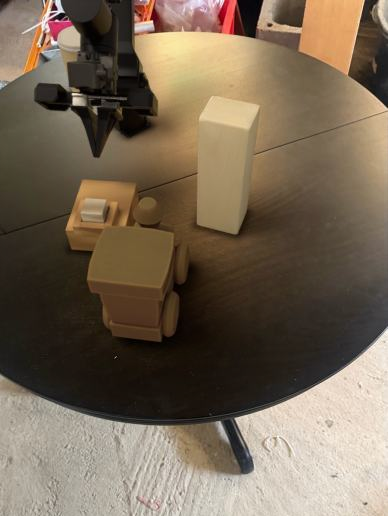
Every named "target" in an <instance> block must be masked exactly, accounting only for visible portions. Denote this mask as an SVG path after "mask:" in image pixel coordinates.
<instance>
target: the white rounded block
mask: <svg viewBox="0 0 388 516" xmlns="http://www.w3.org/2000/svg"><path fill="white" fill-rule="evenodd" d="M107 212H108V205H107V200H104V199H90V198H85V201H84V204H83V207H82V210H81V216H82V220H83V222H92V223H105V219H106V216H107Z"/></svg>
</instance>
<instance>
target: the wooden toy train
mask: <svg viewBox="0 0 388 516" xmlns="http://www.w3.org/2000/svg"><path fill="white" fill-rule="evenodd" d="M165 214H166V211H165V209H164V207H163V206H162V205H161V204H160V203H159V202H158V201H157V200H156V199H154V198H153V197H150V196H146V197H143V198H141V199H140V200H139V203H138V204H137V206H136V207H135V209H134V211H133V217H134V219H135V222H134V226H133V227H131V226H105V227H104V229H103V231H102V233H101V234H100V236H99V238H98V240H97V243H96V246H95V248H94V251H92V254H91V257H90V260H89V263H88V270H87V276H86V282H87V284H88V288H89V292H90V293H92V294H98V295H99V297H100V301H101V303H102V321H103V324H104V326H105V327H106V328H107V329H108V330H110V331H111V334H112V337H119V338H125V339H126V338H127V339H135V340H143V341H151V342H157V343H158V342H160V343H161V342H162V341H163V336H165V337H167V338H170V337H173V336H174V335H175V333H176V330H177V326H178V322H179V321H178V320H179V316H180V315H179V313H180V296H179V293H178V292H176V291H174V290H173V289H174V285H175V284H176V285H179V286H180V285H183V284H184V283H185V282H186V280H187V276H188V271H189V265H190V245H189V244H188V243H187V242H186V241H180V242H175V239H176V238H175V230H174V227H173V224H170V223H165V222H162V221H163V219H164V217H165Z"/></svg>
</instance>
